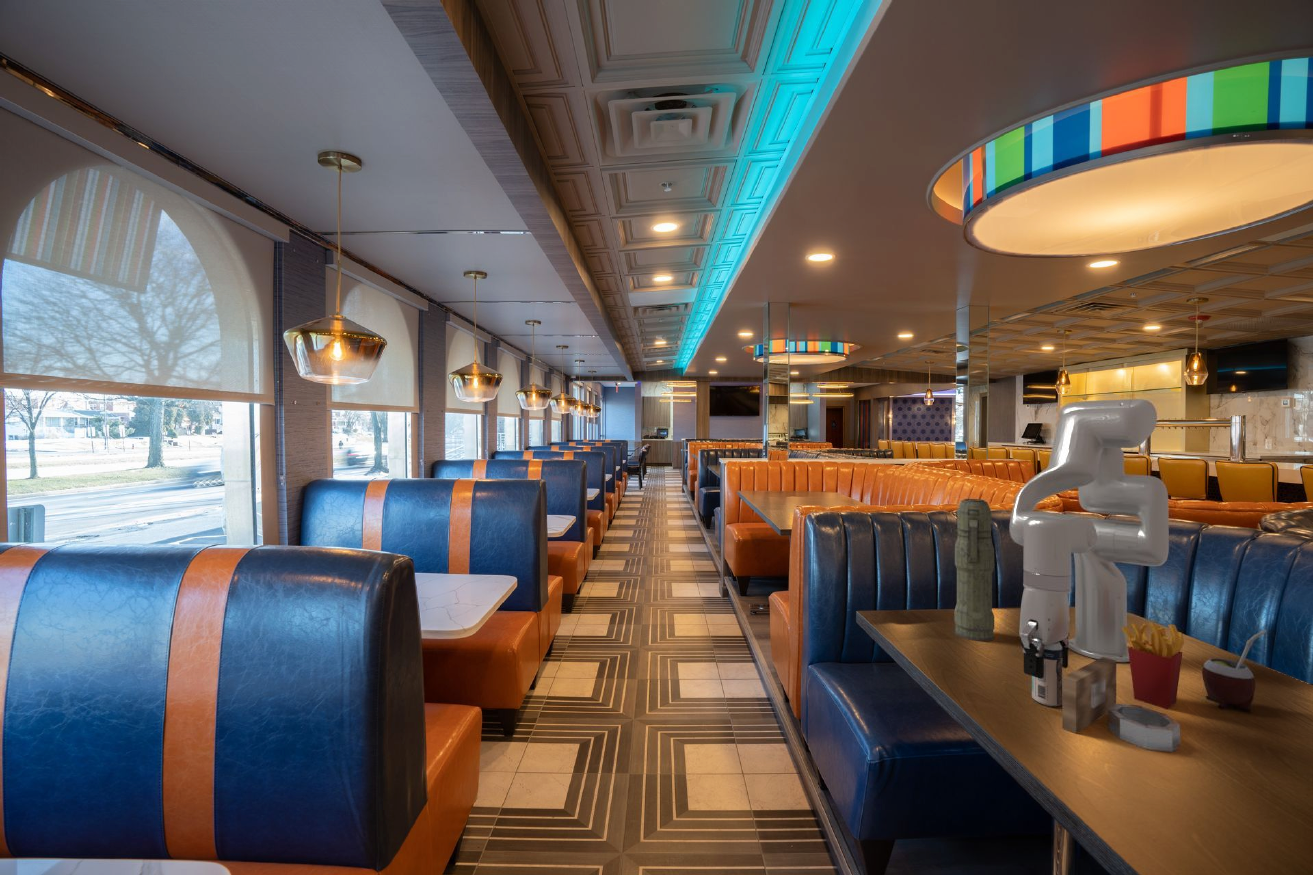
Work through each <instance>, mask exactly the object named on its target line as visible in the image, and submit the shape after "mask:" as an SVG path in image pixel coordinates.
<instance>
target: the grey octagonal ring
mask: <svg viewBox="0 0 1313 875" xmlns="http://www.w3.org/2000/svg"><path fill="white" fill-rule="evenodd" d="M1107 723H1108V724H1107V725H1108V726H1107V729H1108V730H1109V729H1110V730H1111V731H1110V730H1109V731H1110V732H1111V733H1112V732H1113V735H1115V736H1116V737H1117V738H1118V739H1119V738H1120V739H1121V741H1123V740H1125V741H1124V742H1126V743H1128V742H1130V743H1129V744H1131V743H1132V745H1134V746H1136V745H1137V746H1136V747H1139V748H1141V749H1145V750H1147V749H1148V750H1147V751H1158V752H1165V753H1166V752H1167V753H1174V752H1175V750H1177V749H1178V748H1179V747H1181V746H1180V745H1181V724H1179V723H1178V722H1177V721H1176V720H1174V719H1173V718H1171V717H1170V716H1168V715H1167V714H1165V713H1163V712H1161V711H1157V710H1154V709H1150V708H1148V707H1145V706H1141V705H1134V704H1126V703H1125V704H1124V703H1116V704H1115V705H1113V706H1112V707H1110V708H1108V714H1107ZM1120 739H1119V740H1120Z"/></svg>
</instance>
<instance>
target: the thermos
mask: <svg viewBox="0 0 1313 875" xmlns="http://www.w3.org/2000/svg"><path fill="white" fill-rule="evenodd" d="M956 514H957V515H956V516H957V519H956V520H957V522H956V525H957V530H958V532H957V536H956V541H955V543H954V565H955V568H956V605H955V608H954V612H953V614H954V615H953V616H954V617H953V618H954V624H955V629H954V633H955V634H956V635H957V636H958V637H961V638H964V639H967V640H971V641H976V642H977V641H978V642H990V641H993V640H994V637H995V635H994V630H995V615H994V612H993V590H992V589H993V572H994V570H995V548H994V545H993V542H992V536H991V532H992V511H991V508H990V505H989V502H988V501H986V500H984V499H977V498H964V499H963V500H960V502H959V505H958V508H957V512H956Z"/></svg>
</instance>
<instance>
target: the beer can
mask: <svg viewBox="0 0 1313 875" xmlns="http://www.w3.org/2000/svg"><path fill="white" fill-rule="evenodd" d="M1036 639H1039V638H1036ZM1040 640H1041V639H1040ZM1033 644H1034V645H1035V647H1036V648H1038V644H1035V643H1033ZM1042 657H1044V678H1042V679H1040V678H1037V677H1034V676H1031V697H1032V699H1033V700H1034V701H1036V702H1037V703H1039V704H1041V705H1043V706H1048V707H1052V706H1055V707H1058V706H1061V705H1062V677H1063V667H1062V646H1061V644H1060V642H1059V641H1058V642H1055V643H1053V644H1050V645H1045V647H1044V650H1043V653H1042Z"/></svg>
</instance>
